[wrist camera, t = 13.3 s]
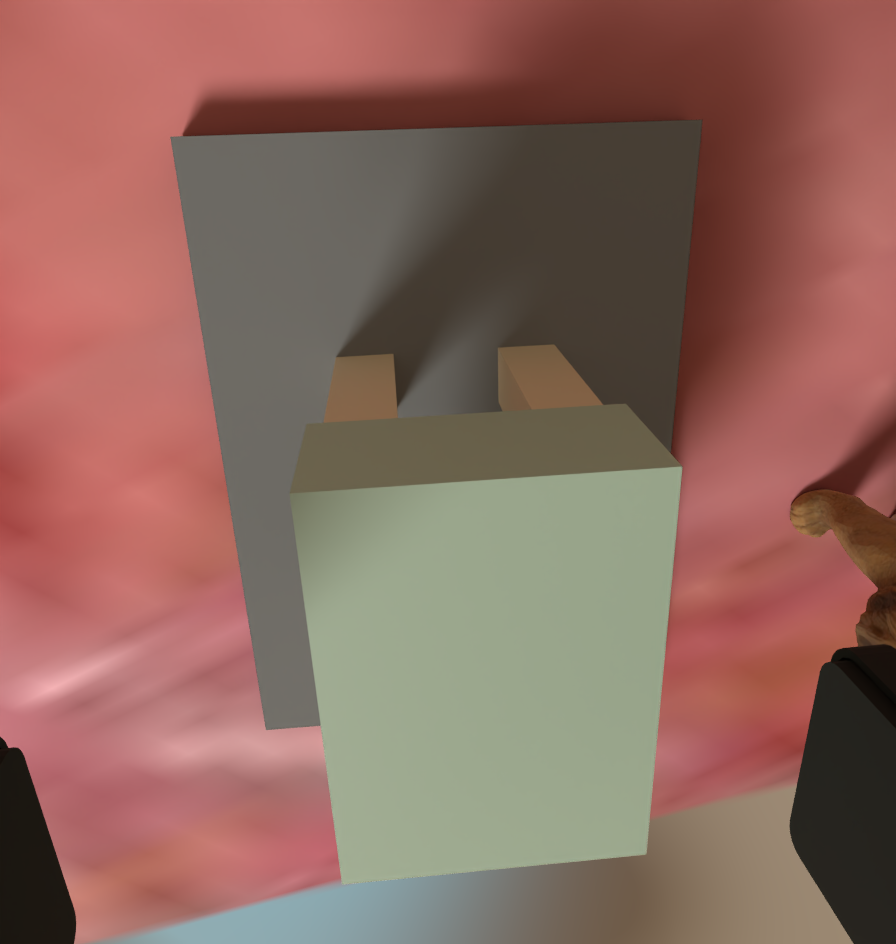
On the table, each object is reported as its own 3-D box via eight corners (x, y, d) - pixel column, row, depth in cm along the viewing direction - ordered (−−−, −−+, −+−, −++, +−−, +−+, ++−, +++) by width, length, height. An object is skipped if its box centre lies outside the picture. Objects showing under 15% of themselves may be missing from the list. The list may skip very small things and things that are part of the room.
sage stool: (325, 348, 16) (289, 492, 10) (563, 334, 16) (682, 466, 10) (354, 629, 19) (342, 884, 12) (557, 612, 19) (646, 854, 13)
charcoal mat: (270, 708, 21) (265, 729, 20) (180, 136, 15) (170, 137, 14) (638, 679, 21) (647, 699, 21) (687, 120, 16) (702, 119, 15)
